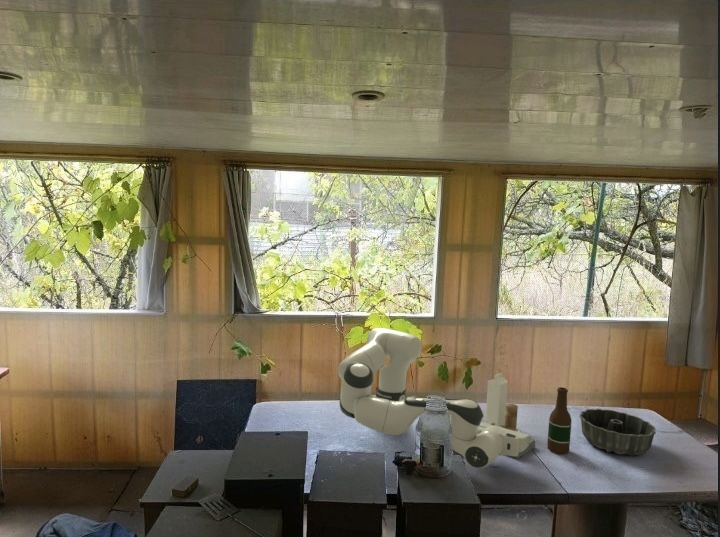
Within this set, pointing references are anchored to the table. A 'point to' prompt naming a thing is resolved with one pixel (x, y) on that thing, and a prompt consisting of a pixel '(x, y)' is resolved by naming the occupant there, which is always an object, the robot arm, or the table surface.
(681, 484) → the table surface
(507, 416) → the dowel
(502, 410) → the milk
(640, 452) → the bundt pan
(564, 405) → the beer bottle
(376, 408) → the robot arm
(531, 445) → the socket block
